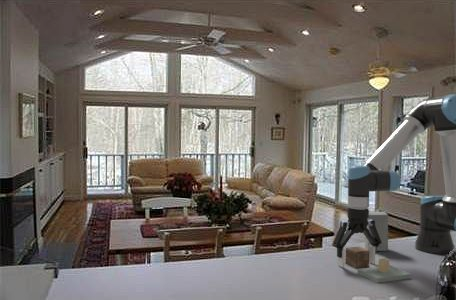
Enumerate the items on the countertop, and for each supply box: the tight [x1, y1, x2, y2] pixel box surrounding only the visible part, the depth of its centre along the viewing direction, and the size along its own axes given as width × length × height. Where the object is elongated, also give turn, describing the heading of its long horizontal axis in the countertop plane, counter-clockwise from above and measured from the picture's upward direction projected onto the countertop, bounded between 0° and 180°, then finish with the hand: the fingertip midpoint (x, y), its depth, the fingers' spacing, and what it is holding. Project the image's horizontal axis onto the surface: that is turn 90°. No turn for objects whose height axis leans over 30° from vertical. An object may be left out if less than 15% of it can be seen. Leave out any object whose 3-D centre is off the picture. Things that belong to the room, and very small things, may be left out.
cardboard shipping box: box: [345, 245, 370, 269], centre depth 156 cm, size 6×6×6 cm
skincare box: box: [364, 211, 389, 252], centre depth 178 cm, size 8×7×16 cm
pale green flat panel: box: [356, 258, 412, 284], centre depth 144 cm, size 14×10×6 cm
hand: (356, 264), depth 156 cm, fingers open, 13 cm apart
